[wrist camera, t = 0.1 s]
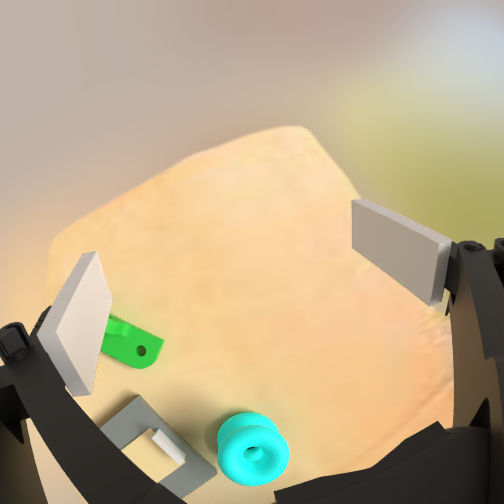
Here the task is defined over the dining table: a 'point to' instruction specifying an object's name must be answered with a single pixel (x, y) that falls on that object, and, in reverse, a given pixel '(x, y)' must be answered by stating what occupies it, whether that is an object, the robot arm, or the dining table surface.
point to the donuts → (251, 460)
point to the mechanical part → (130, 343)
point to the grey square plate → (157, 448)
